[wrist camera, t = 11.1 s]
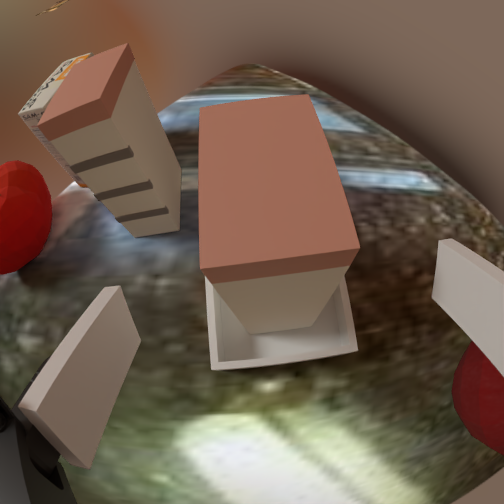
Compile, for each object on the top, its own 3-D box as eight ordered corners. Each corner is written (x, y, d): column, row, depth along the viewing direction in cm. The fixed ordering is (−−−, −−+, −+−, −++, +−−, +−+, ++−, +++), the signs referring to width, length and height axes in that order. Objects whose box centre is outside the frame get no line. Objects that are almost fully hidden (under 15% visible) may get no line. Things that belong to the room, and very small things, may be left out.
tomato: (-5, 272, 26) (-60, 239, 17) (35, 187, 31) (-9, 142, 21) (39, 301, 24) (-33, 264, 15) (86, 196, 29) (35, 137, 19)
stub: (250, 334, 21) (200, 268, 8) (241, 247, 24) (199, 107, 11) (311, 326, 21) (360, 247, 8) (297, 239, 23) (308, 94, 11)
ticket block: (134, 238, 26) (36, 126, 12) (141, 178, 29) (73, 64, 15) (180, 231, 26) (99, 98, 12) (182, 169, 28) (128, 42, 15)
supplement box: (108, 136, 32) (63, 60, 20) (137, 135, 32) (94, 50, 20) (78, 188, 29) (15, 113, 17) (107, 190, 29) (43, 105, 17)
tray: (220, 370, 21) (211, 370, 18) (211, 227, 25) (202, 208, 23) (347, 353, 20) (358, 350, 17) (320, 213, 25) (324, 192, 22)
